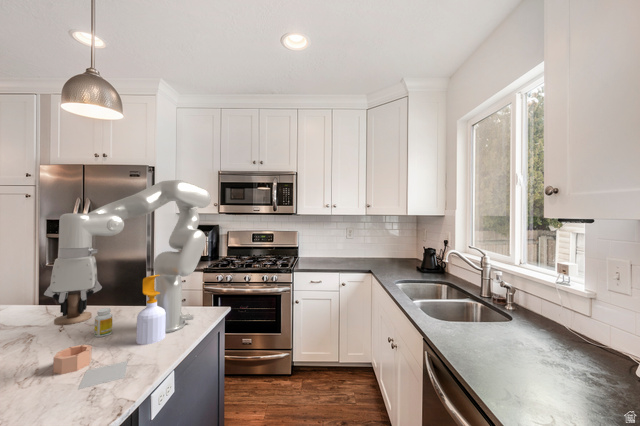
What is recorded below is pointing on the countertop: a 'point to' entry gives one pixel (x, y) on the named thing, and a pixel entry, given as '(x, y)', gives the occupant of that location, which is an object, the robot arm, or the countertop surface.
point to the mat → (103, 374)
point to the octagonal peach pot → (72, 359)
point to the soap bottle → (150, 316)
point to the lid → (73, 311)
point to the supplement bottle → (103, 323)
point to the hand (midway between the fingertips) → (73, 312)
